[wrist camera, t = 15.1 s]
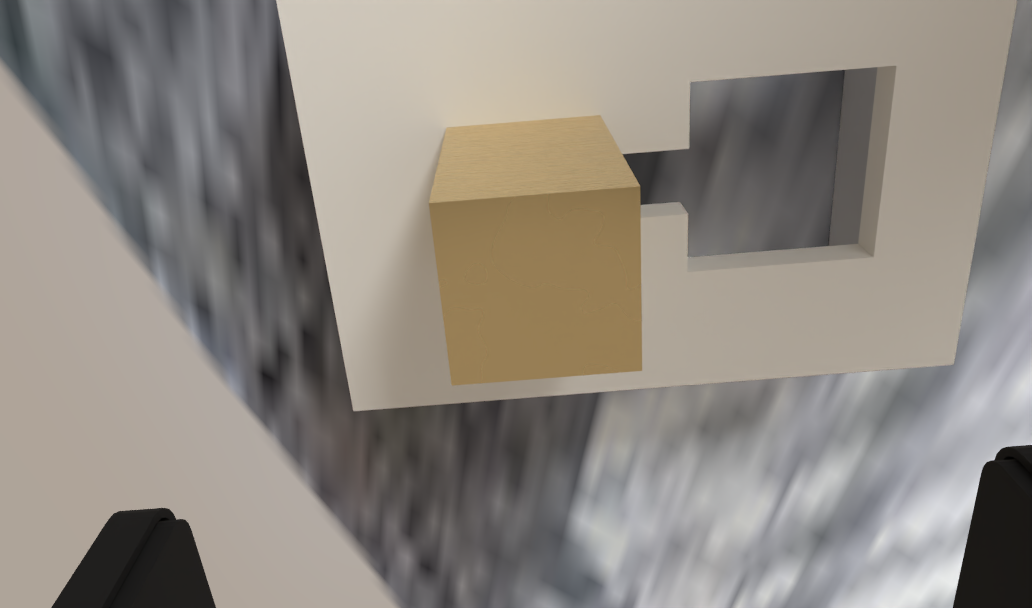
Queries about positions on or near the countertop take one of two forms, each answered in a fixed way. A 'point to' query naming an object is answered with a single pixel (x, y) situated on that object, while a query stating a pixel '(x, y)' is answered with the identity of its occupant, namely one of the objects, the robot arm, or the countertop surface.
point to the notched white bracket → (648, 128)
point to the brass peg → (537, 251)
